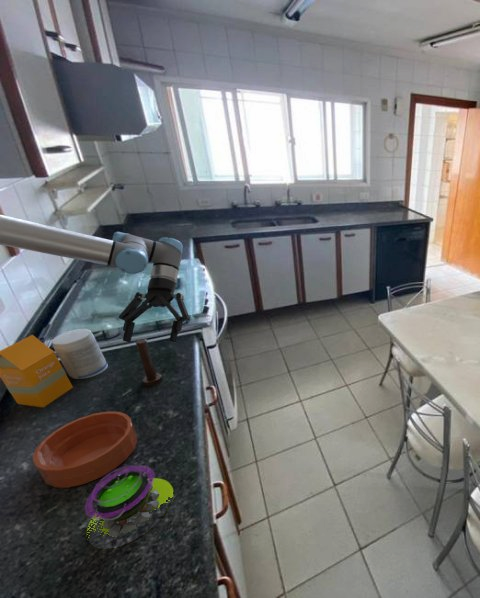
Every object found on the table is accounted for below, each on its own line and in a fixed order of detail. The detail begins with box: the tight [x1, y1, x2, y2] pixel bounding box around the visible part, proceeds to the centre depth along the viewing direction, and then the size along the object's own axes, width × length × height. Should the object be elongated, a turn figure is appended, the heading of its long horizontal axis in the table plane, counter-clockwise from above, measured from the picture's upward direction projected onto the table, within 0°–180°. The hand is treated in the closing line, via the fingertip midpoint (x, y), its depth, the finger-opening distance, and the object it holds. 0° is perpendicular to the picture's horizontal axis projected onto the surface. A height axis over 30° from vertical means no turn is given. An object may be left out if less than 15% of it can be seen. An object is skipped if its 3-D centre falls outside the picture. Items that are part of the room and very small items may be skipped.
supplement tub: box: [51, 328, 109, 380], centre depth 106 cm, size 10×10×15 cm
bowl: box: [32, 410, 138, 489], centre depth 81 cm, size 18×18×6 cm
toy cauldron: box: [84, 465, 174, 538], centre depth 68 cm, size 15×15×11 cm
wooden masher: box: [135, 338, 163, 387], centre depth 104 cm, size 5×5×16 cm
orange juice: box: [0, 334, 74, 408], centre depth 93 cm, size 8×9×20 cm
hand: (149, 341), depth 106 cm, fingers open, 13 cm apart
